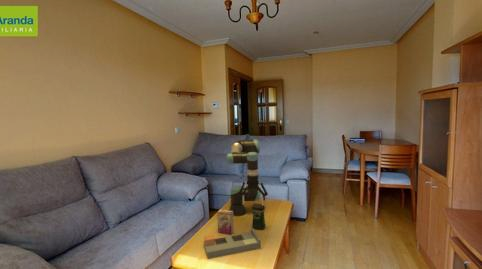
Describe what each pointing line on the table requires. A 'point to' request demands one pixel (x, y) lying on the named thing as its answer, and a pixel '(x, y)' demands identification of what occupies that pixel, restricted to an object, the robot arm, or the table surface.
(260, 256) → the table surface
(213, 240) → the block
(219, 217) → the candy bar box
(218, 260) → the table surface
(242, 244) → the block
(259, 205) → the coffee jar
